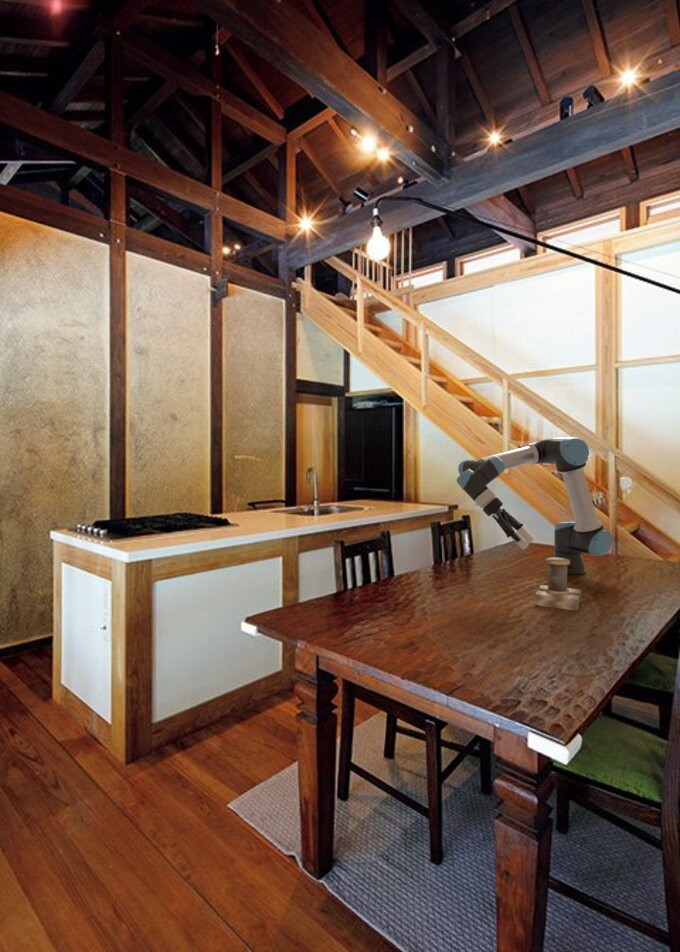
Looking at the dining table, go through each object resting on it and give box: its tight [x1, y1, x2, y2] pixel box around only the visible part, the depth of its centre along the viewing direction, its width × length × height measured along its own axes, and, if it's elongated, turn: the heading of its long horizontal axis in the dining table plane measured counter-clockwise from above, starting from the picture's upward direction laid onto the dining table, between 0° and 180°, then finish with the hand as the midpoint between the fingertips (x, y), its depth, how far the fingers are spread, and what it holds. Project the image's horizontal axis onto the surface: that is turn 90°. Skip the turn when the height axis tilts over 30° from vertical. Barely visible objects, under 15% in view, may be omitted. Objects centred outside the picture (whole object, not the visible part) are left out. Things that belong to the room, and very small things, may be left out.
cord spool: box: [545, 556, 570, 595], centre depth 184 cm, size 8×8×12 cm
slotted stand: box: [534, 584, 582, 612], centre depth 184 cm, size 14×14×4 cm
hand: (528, 544), depth 189 cm, fingers open, 13 cm apart
